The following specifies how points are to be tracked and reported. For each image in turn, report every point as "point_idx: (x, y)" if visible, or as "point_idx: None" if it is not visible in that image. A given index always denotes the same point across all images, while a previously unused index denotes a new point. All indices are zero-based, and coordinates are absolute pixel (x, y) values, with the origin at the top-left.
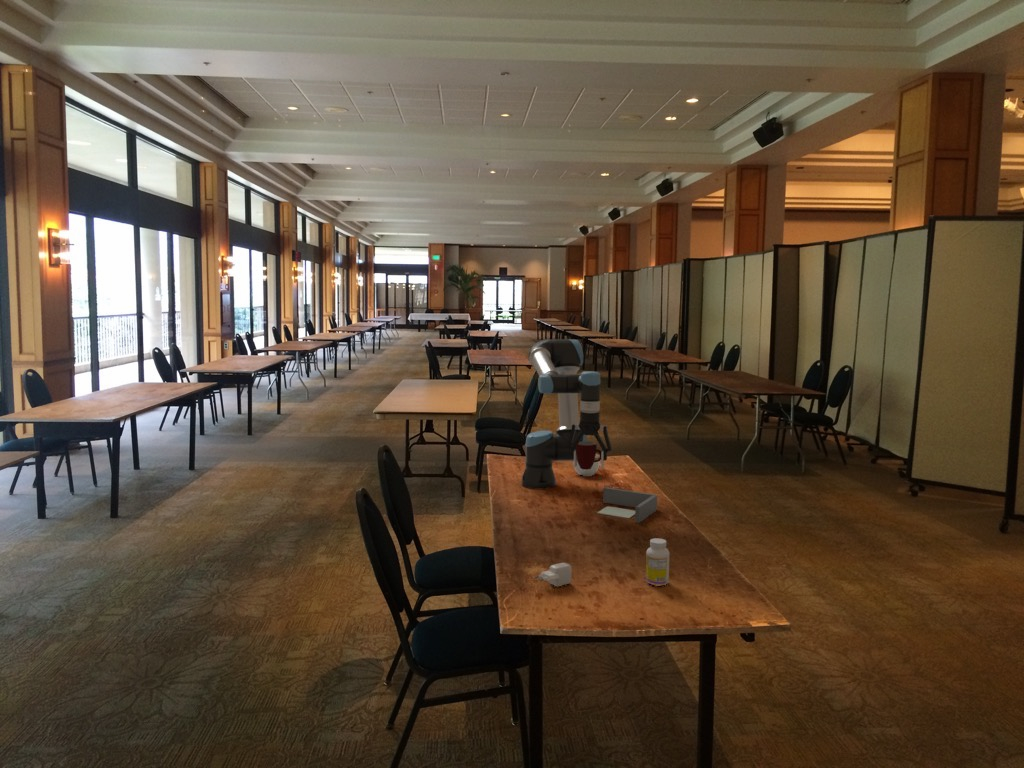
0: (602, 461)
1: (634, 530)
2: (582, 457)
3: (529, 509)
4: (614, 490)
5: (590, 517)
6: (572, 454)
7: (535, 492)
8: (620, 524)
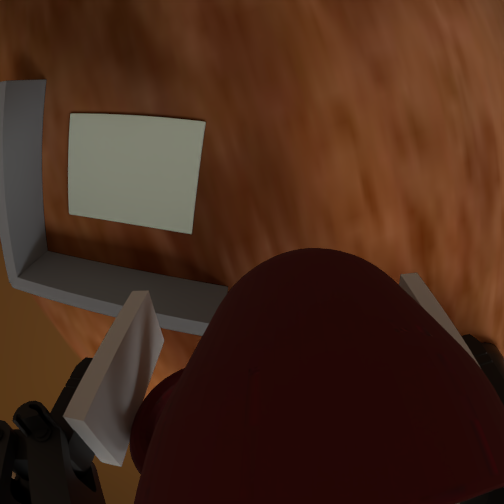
0: (110, 338)
1: (38, 5)
2: (359, 282)
3: (484, 98)
4: (165, 312)
5: (217, 50)
6: (482, 365)
7: (477, 312)
8: (84, 29)
